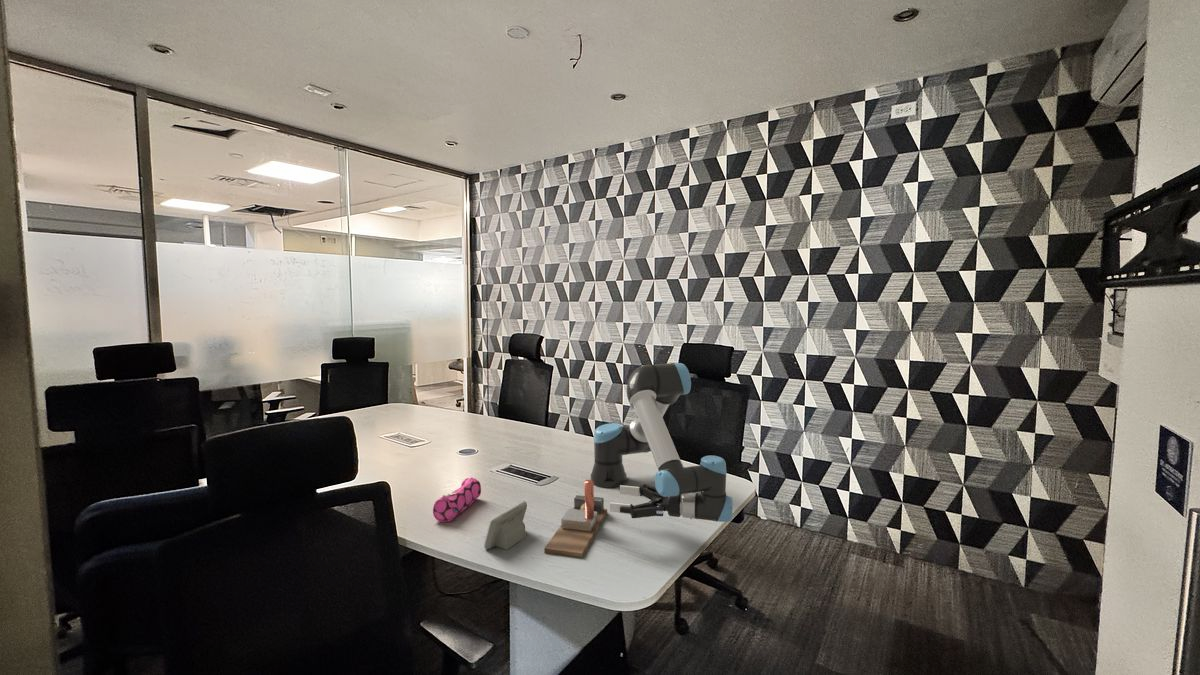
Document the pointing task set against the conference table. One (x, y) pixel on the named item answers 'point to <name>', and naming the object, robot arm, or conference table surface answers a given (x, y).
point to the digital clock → (507, 527)
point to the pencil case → (457, 500)
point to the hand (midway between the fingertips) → (615, 497)
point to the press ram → (582, 512)
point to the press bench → (576, 532)
